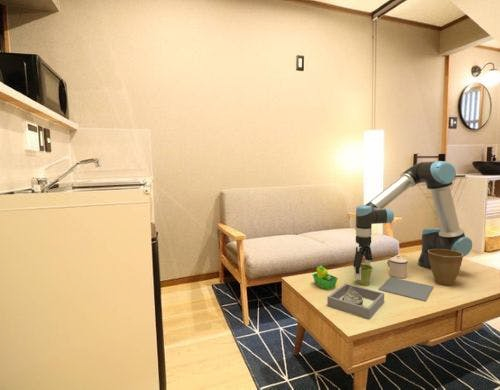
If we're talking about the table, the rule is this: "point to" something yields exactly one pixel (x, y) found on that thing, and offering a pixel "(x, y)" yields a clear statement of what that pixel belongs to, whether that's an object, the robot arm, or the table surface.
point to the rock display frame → (354, 308)
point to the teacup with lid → (397, 267)
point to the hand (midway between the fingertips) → (362, 275)
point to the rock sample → (353, 297)
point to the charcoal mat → (407, 288)
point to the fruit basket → (324, 278)
